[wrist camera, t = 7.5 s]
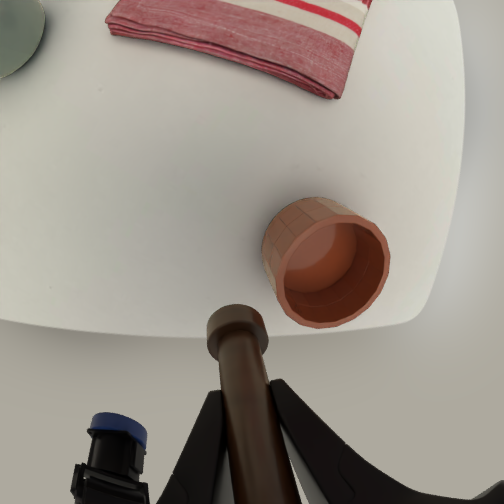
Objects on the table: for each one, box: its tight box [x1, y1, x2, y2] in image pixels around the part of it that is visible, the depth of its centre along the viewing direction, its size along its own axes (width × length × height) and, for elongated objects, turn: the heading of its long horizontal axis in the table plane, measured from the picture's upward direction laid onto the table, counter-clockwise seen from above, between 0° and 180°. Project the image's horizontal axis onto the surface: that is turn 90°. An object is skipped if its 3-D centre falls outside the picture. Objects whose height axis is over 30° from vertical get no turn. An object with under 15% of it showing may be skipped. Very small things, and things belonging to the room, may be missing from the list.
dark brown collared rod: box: [207, 304, 302, 504], centre depth 8 cm, size 2×2×8 cm
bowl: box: [262, 197, 390, 329], centre depth 19 cm, size 8×8×5 cm
